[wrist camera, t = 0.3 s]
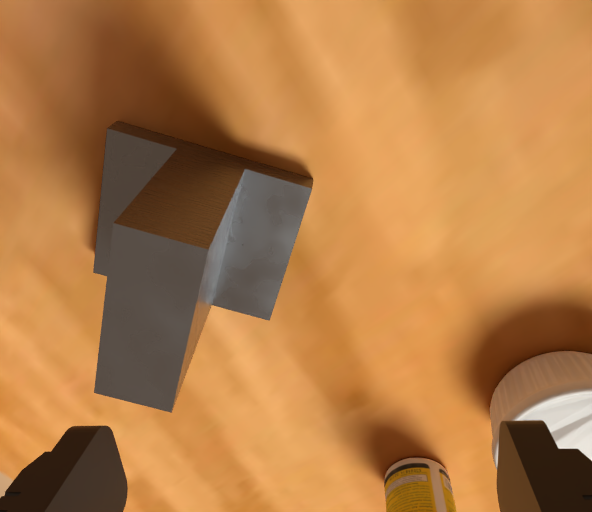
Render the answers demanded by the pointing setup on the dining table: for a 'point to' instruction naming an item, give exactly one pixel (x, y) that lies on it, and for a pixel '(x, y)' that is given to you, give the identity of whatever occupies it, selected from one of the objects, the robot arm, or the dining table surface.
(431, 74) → the dining table surface
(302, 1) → the dining table surface
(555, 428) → the ramekin
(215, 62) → the dining table surface
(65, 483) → the robot arm
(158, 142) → the stand
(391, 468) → the supplement bottle
